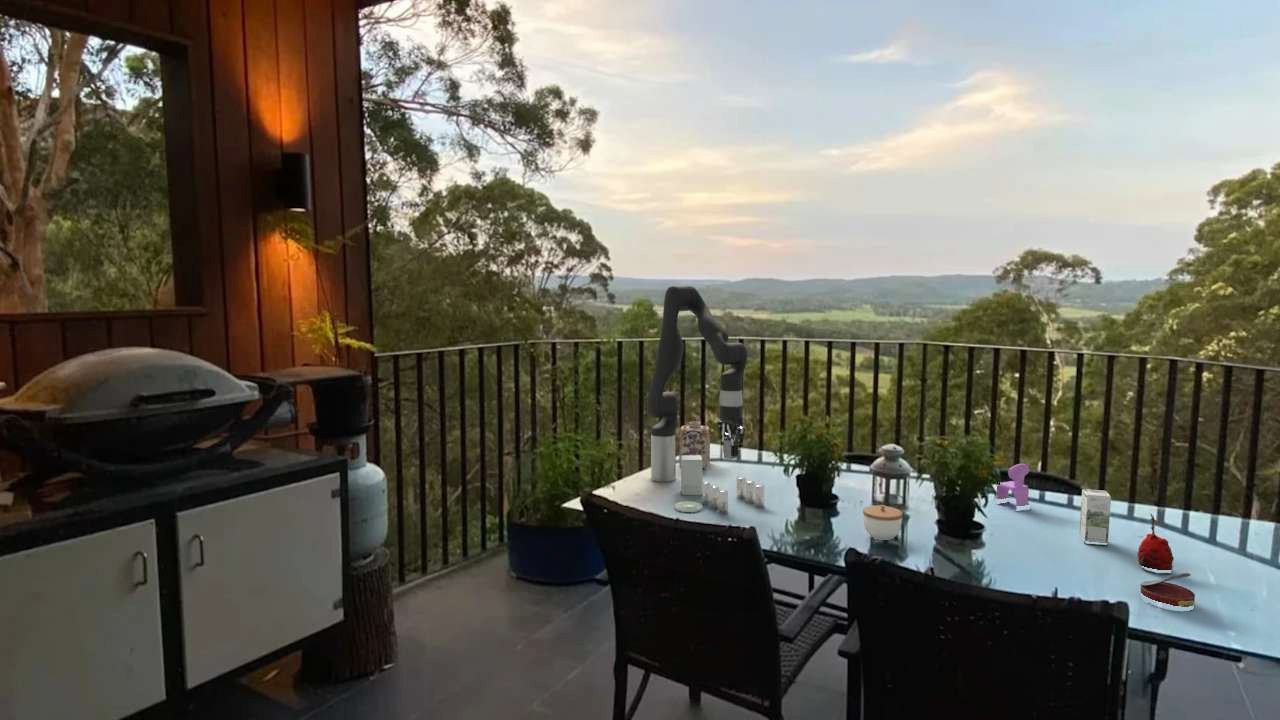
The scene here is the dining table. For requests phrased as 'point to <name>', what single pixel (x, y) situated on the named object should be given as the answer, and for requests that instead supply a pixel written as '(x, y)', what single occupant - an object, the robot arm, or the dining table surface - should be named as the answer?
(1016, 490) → the toy chair
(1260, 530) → the dining table surface
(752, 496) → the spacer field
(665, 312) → the robot arm
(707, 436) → the decorative jar
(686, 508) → the saucer
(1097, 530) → the syrup box
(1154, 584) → the canned food
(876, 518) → the lidded jar
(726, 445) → the grey upright block
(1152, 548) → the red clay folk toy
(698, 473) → the supplement box
